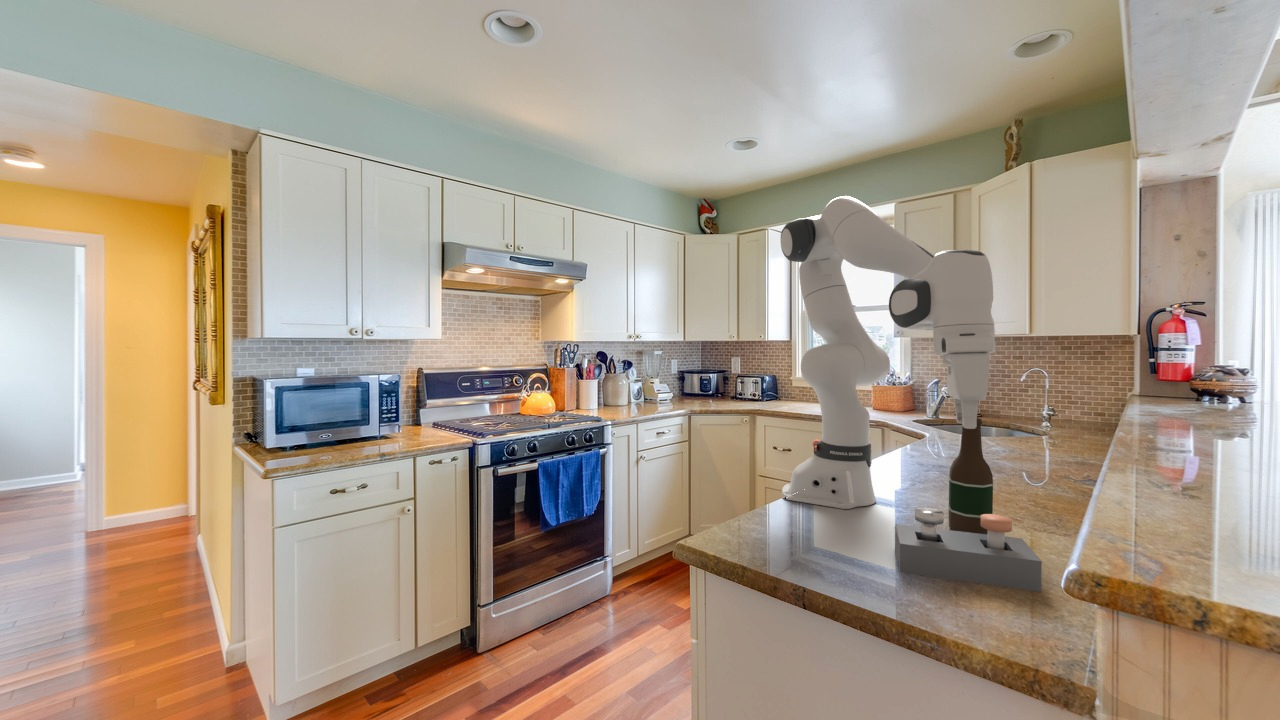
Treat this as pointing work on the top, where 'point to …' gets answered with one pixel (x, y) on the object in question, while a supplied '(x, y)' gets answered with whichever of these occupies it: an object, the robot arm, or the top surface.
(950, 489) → the beer bottle
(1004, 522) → the mushroom push button
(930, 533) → the grey mushroom plug
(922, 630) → the top surface
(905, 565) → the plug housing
